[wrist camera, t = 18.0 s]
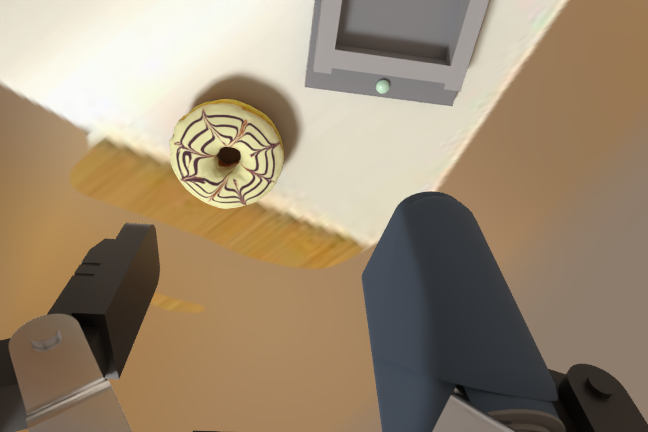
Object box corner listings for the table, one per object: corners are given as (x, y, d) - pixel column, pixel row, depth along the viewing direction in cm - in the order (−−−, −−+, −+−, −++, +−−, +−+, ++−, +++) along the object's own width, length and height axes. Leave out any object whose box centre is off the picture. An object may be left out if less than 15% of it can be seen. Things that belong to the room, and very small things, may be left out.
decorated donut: (162, 171, 44) (151, 188, 41) (197, 74, 39) (188, 85, 36) (257, 209, 47) (254, 228, 44) (300, 123, 42) (301, 137, 39)
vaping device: (350, 288, 16) (407, 853, 7) (407, 175, 13) (652, 919, 4) (412, 300, 17) (544, 840, 7) (482, 194, 14) (856, 888, 4)
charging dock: (330, -135, 32) (333, -141, 29) (512, -101, 33) (529, -103, 31) (304, 83, 40) (304, 94, 38) (449, 102, 42) (458, 113, 39)
